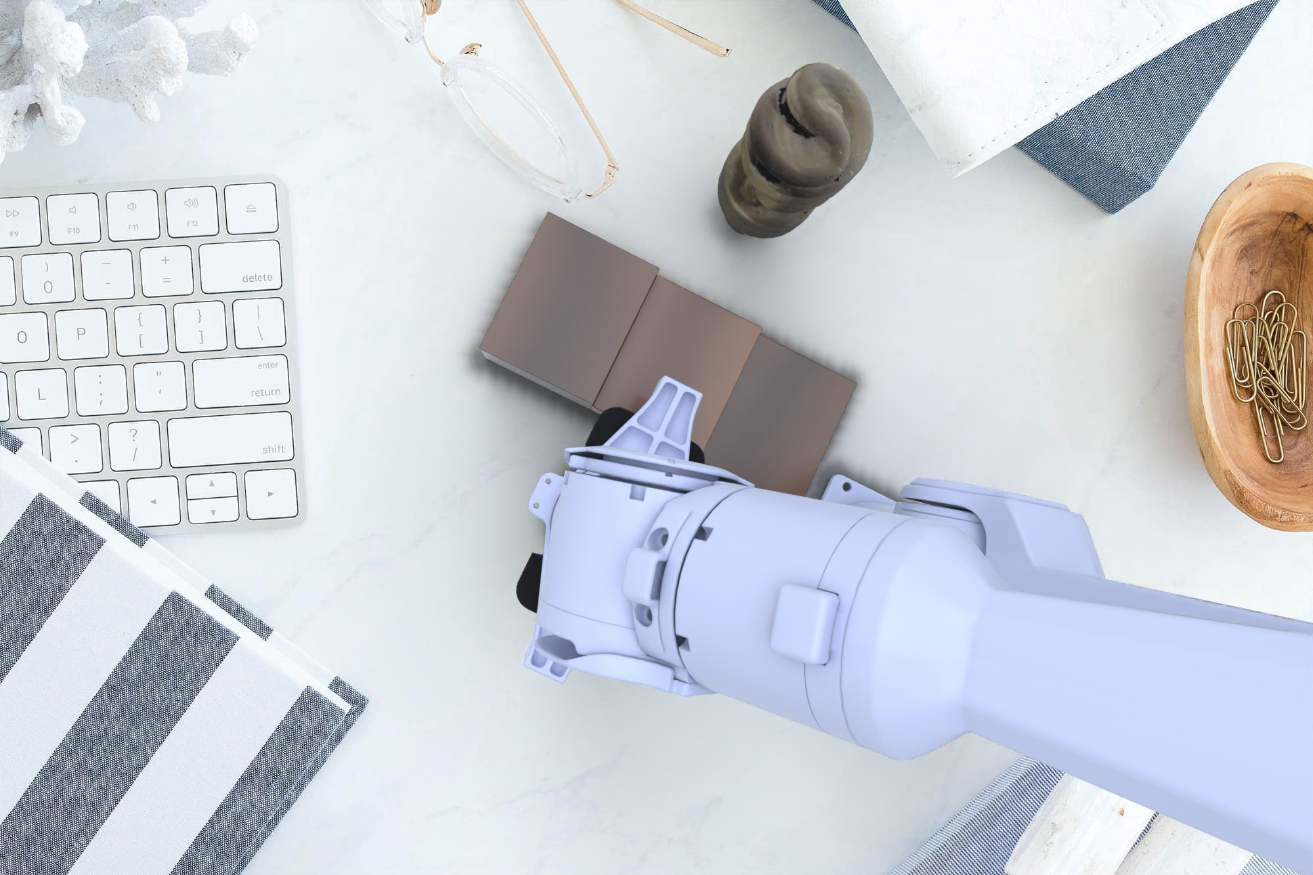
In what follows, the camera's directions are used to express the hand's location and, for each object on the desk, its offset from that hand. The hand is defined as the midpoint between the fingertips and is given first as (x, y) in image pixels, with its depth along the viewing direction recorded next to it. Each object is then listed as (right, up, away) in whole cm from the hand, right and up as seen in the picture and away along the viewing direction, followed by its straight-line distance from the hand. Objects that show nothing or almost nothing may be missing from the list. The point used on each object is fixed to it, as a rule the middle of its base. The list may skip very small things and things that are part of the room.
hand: (603, 515), depth 50 cm
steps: (+4, +8, +2) cm, 9 cm away
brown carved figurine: (+8, +17, +3) cm, 19 cm away
